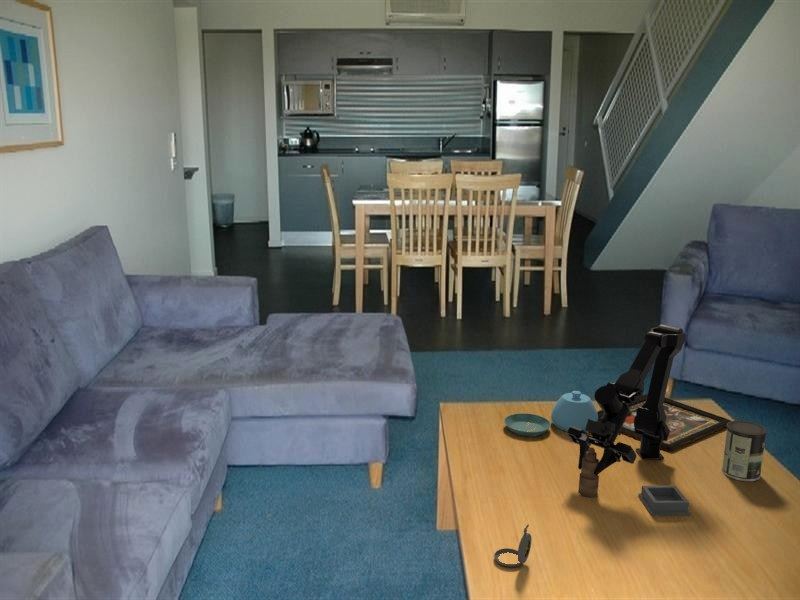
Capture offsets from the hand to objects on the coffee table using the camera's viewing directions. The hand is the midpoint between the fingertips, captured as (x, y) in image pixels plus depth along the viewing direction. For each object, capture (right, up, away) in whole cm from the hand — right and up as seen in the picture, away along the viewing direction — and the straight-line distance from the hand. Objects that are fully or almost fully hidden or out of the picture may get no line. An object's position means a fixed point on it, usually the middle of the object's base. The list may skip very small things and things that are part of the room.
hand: (586, 471), depth 204 cm
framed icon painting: (+36, +4, +50) cm, 62 cm away
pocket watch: (-24, -14, -29) cm, 40 cm away
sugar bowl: (+7, +4, +47) cm, 47 cm away
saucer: (-9, +4, +43) cm, 44 cm away
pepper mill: (+1, -6, +3) cm, 7 cm away
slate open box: (+19, -8, -3) cm, 21 cm away
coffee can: (+47, -4, +15) cm, 50 cm away
